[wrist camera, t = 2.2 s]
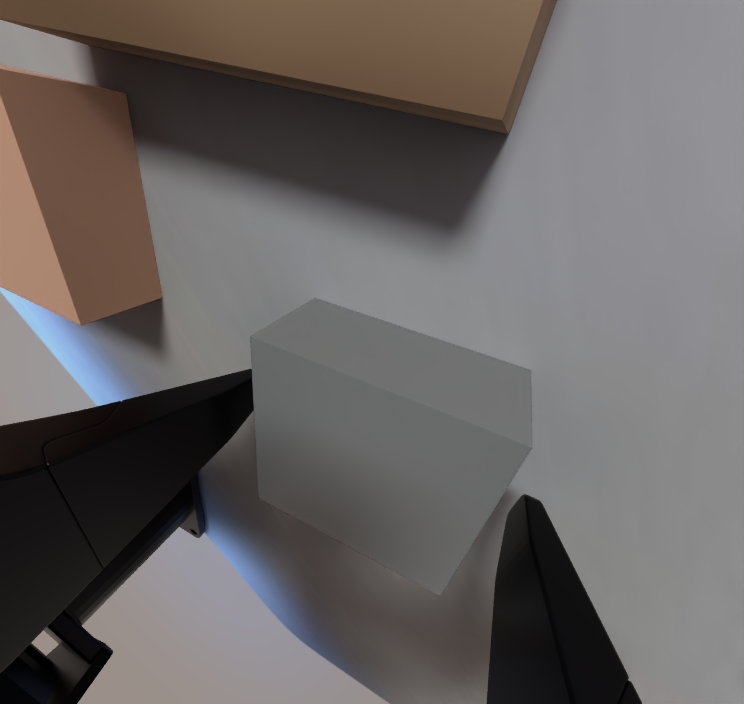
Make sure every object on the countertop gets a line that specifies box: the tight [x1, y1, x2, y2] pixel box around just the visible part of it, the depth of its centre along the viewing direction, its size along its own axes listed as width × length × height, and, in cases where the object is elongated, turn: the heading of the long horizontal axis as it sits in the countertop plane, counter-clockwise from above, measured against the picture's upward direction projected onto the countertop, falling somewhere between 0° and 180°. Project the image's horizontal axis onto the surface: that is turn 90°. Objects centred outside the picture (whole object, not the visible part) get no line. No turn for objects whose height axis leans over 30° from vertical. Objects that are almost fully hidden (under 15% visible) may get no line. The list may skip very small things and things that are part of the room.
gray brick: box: [250, 298, 532, 596], centre depth 9 cm, size 6×6×3 cm
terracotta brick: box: [0, 64, 163, 326], centre depth 10 cm, size 6×6×3 cm
